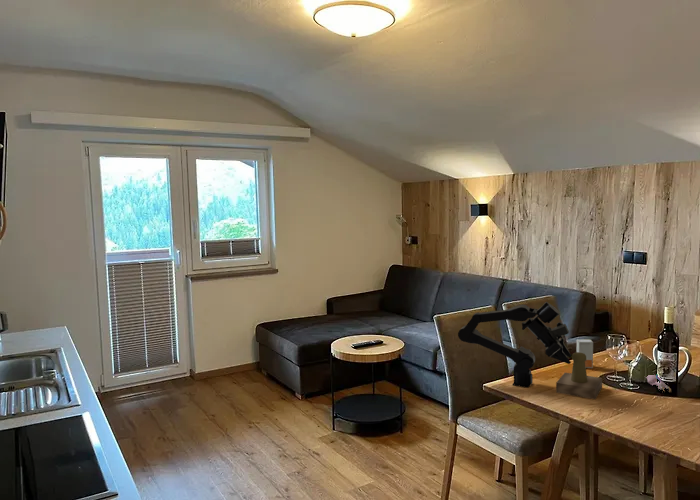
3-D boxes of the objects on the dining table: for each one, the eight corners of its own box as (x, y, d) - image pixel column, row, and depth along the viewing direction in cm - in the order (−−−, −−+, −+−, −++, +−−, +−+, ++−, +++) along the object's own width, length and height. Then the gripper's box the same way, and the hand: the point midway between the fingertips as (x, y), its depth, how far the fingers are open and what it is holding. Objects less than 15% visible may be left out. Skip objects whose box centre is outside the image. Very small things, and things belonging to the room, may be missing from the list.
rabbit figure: (674, 395, 197) (651, 376, 212) (676, 381, 196) (653, 363, 210) (658, 396, 197) (636, 377, 212) (660, 382, 196) (637, 364, 210)
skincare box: (578, 368, 229) (578, 341, 228) (576, 365, 233) (576, 339, 232) (593, 368, 228) (593, 341, 227) (590, 365, 232) (590, 339, 231)
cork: (591, 381, 201) (591, 353, 200) (579, 383, 199) (579, 356, 198) (579, 376, 206) (578, 350, 205) (567, 379, 204) (567, 352, 203)
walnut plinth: (556, 392, 201) (556, 382, 201) (564, 381, 213) (564, 372, 212) (595, 399, 193) (595, 388, 193) (602, 387, 204) (602, 377, 204)
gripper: (554, 322, 195) (586, 353, 192) (556, 312, 212) (586, 340, 209) (532, 341, 199) (563, 372, 196) (536, 329, 216) (565, 358, 213)
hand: (570, 359), depth 203 cm, fingers open, 9 cm apart
